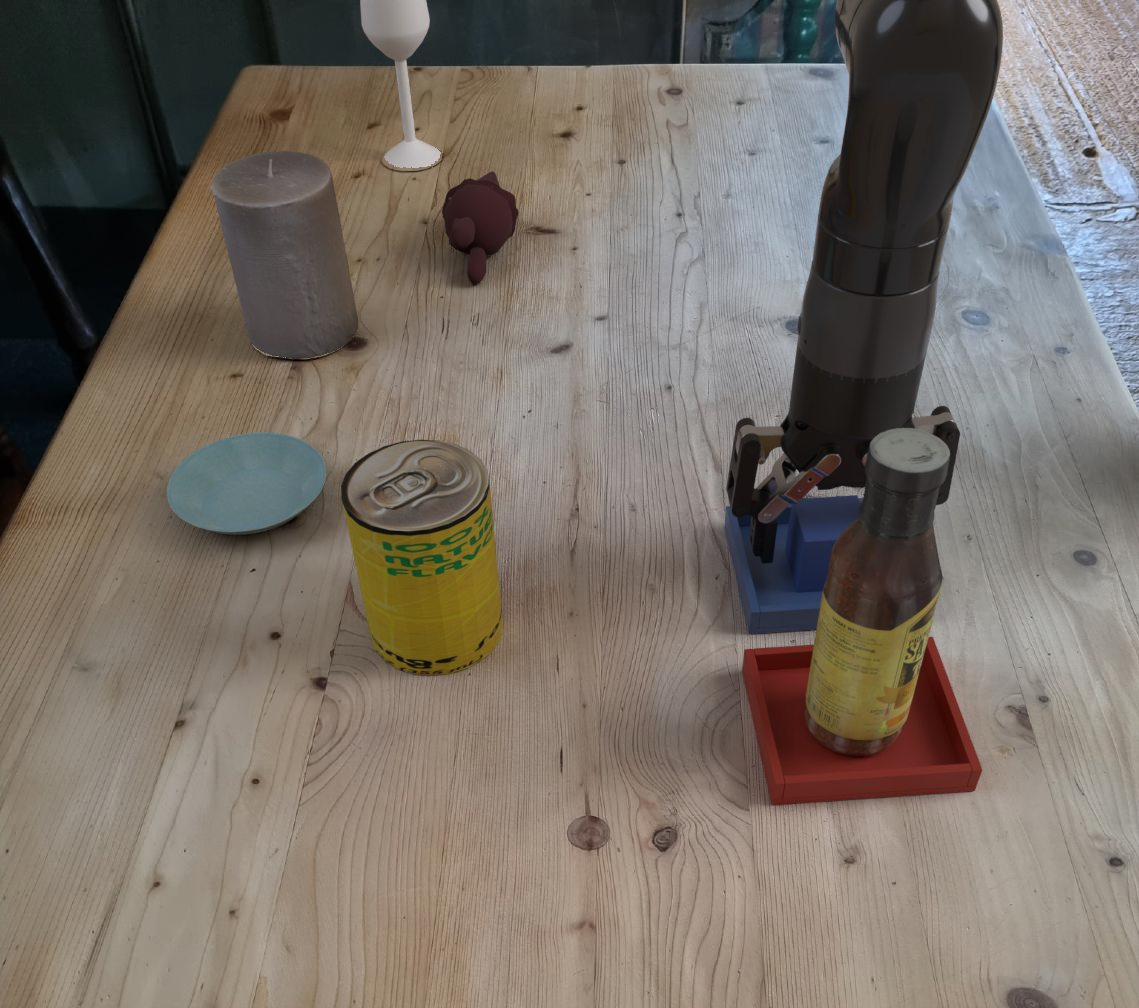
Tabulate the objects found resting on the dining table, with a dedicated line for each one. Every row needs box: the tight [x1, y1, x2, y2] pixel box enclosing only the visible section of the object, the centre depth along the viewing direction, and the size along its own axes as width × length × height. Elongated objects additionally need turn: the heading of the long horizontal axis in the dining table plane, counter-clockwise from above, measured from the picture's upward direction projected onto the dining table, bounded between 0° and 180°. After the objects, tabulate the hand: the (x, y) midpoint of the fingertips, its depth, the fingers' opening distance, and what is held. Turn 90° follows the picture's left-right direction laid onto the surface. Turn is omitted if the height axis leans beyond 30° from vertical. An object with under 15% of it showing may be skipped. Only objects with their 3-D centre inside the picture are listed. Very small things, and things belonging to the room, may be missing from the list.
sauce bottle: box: [805, 428, 950, 756], centre depth 68 cm, size 6×6×20 cm
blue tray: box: [723, 497, 863, 635], centre depth 84 cm, size 12×11×2 cm
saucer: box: [166, 431, 327, 536], centre depth 91 cm, size 12×12×2 cm
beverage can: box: [340, 439, 504, 677], centre depth 78 cm, size 9×9×12 cm
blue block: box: [785, 494, 860, 592], centre depth 83 cm, size 4×4×4 cm
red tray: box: [741, 636, 983, 806], centre depth 75 cm, size 12×11×2 cm
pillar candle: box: [209, 150, 359, 360], centre depth 102 cm, size 10×10×15 cm
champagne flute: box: [359, 0, 441, 168], centre depth 121 cm, size 7×7×24 cm
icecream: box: [441, 171, 520, 286], centre depth 114 cm, size 7×7×15 cm
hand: (826, 551), depth 84 cm, fingers open, 8 cm apart
